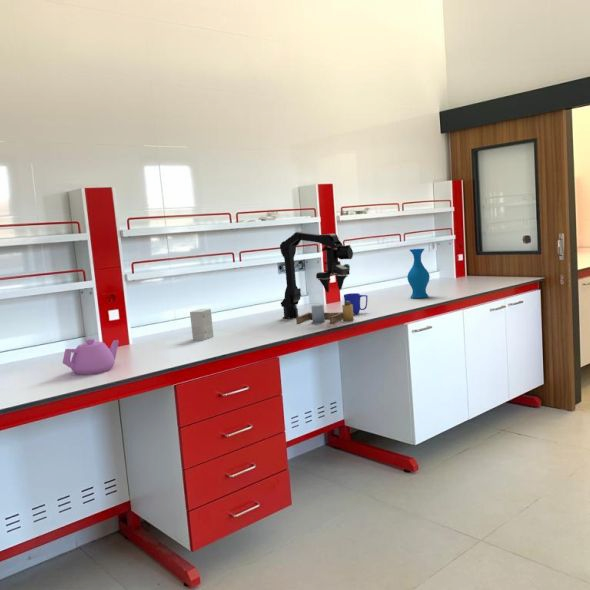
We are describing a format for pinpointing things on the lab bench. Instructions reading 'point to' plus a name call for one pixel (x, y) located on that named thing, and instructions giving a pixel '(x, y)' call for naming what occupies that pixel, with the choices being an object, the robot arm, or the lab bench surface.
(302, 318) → the cradle
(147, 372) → the lab bench surface
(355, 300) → the mug
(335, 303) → the lab bench surface
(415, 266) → the vase
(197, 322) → the small box
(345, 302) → the reagent bottle
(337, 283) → the robot arm
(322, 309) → the pale blue canister
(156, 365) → the lab bench surface
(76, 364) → the teapot
